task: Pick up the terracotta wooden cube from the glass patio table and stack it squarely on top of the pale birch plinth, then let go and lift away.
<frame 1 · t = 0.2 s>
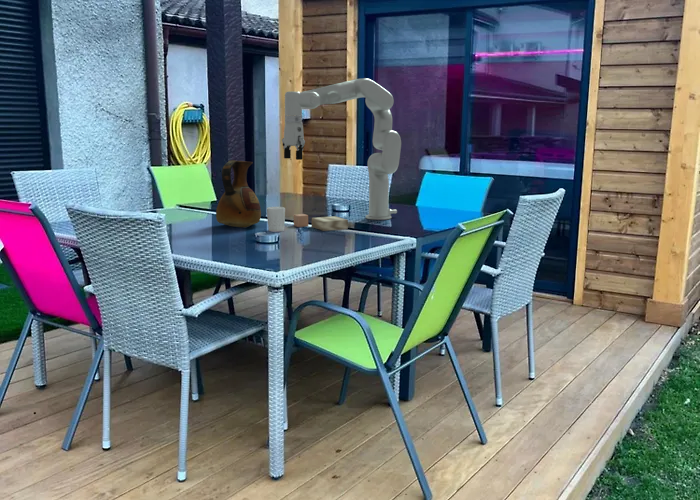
hand: (293, 159, 302), 30 cm above the table, tool pointing down, fingers open, 9 cm apart
cube: (301, 225, 307), on the table
ceramic pitcher: (239, 227, 303), on the table
plinth: (329, 227, 302), on the table
white cup: (276, 231, 294), on the table
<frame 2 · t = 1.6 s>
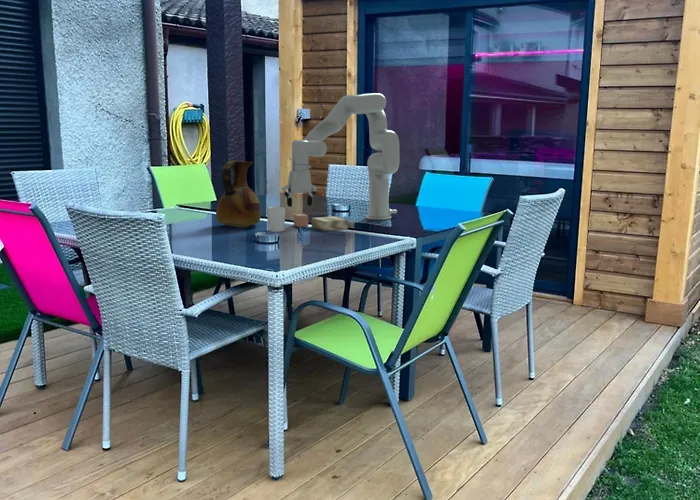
hand: (299, 206, 305), 9 cm above the table, tool pointing down, fingers open, 9 cm apart
nothing on the table moved.
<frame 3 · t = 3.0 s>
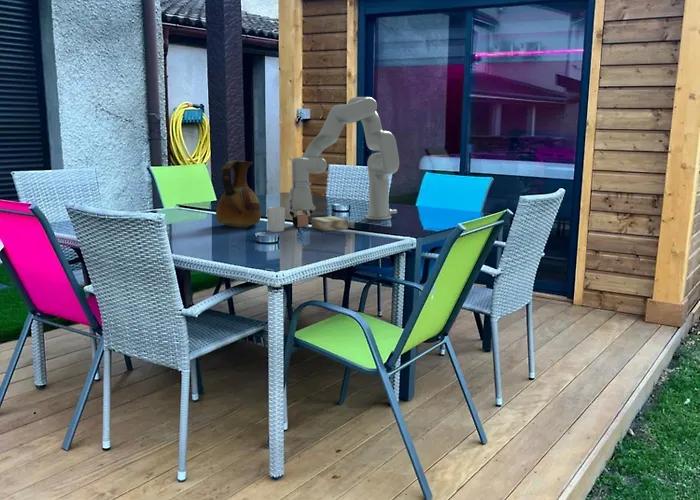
hand: (300, 224, 307), 0 cm above the table, tool pointing down, fingers closed on cube, 5 cm apart
cube: (301, 225, 307), on the table, touching gripper
everything else where it was.
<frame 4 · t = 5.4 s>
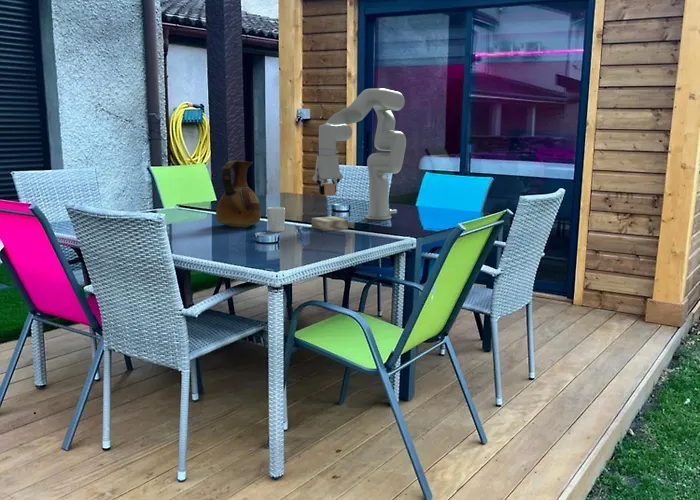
hand: (327, 193, 299), 15 cm above the table, tool pointing down, fingers closed on cube, 4 cm apart
cube: (327, 195, 299), point 15 cm above the table, touching gripper
everything else where it was.
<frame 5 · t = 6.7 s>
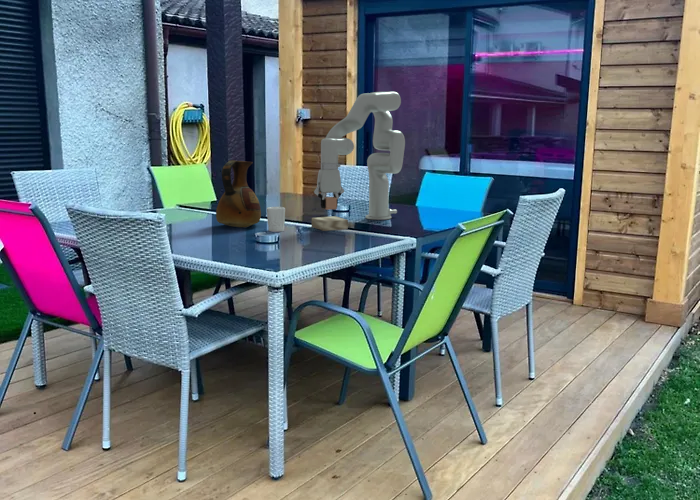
hand: (329, 207, 300), 9 cm above the table, tool pointing down, fingers closed on cube, 4 cm apart
cube: (329, 208, 300), point 9 cm above the table, touching gripper
everything else where it was.
when the fingers open (6 cm above the table, at t = 7.7 s): cube drops 1 cm, resting on plinth.
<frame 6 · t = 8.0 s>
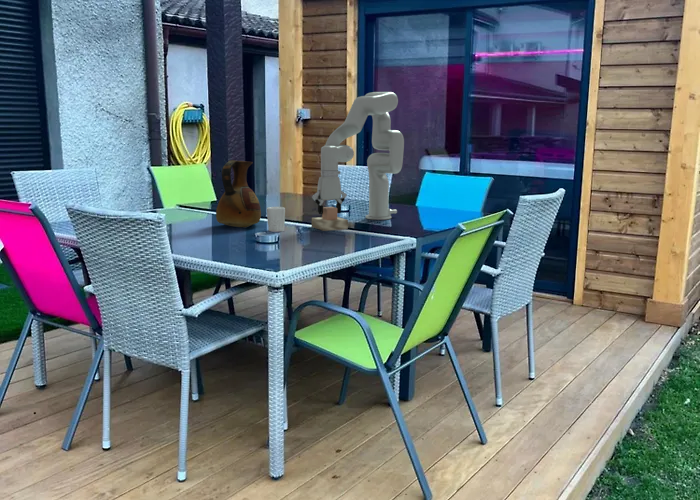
hand: (329, 213, 300), 7 cm above the table, tool pointing down, fingers open, 8 cm apart
cube: (329, 218, 301), point 4 cm above the table, touching plinth
everything else where it was.
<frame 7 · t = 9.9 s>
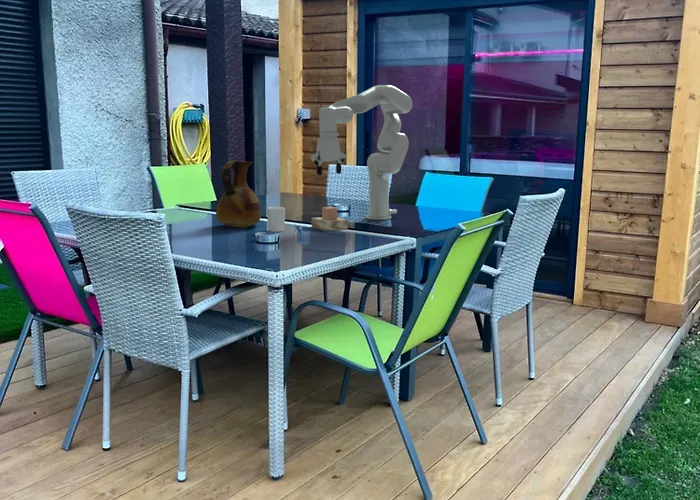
hand: (329, 174, 302), 23 cm above the table, tool pointing down, fingers open, 9 cm apart
nothing on the table moved.
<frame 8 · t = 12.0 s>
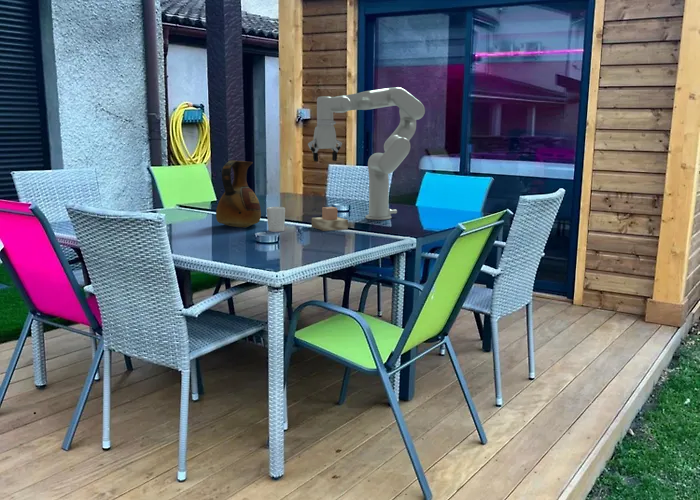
hand: (325, 161, 315), 28 cm above the table, tool pointing down, fingers open, 9 cm apart
nothing on the table moved.
at the end: cube inside the target area on the plinth (0.1 cm from its centre), point 4.0 cm above the plinth's base; cube tilted 0°; the gripper is holding nothing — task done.
